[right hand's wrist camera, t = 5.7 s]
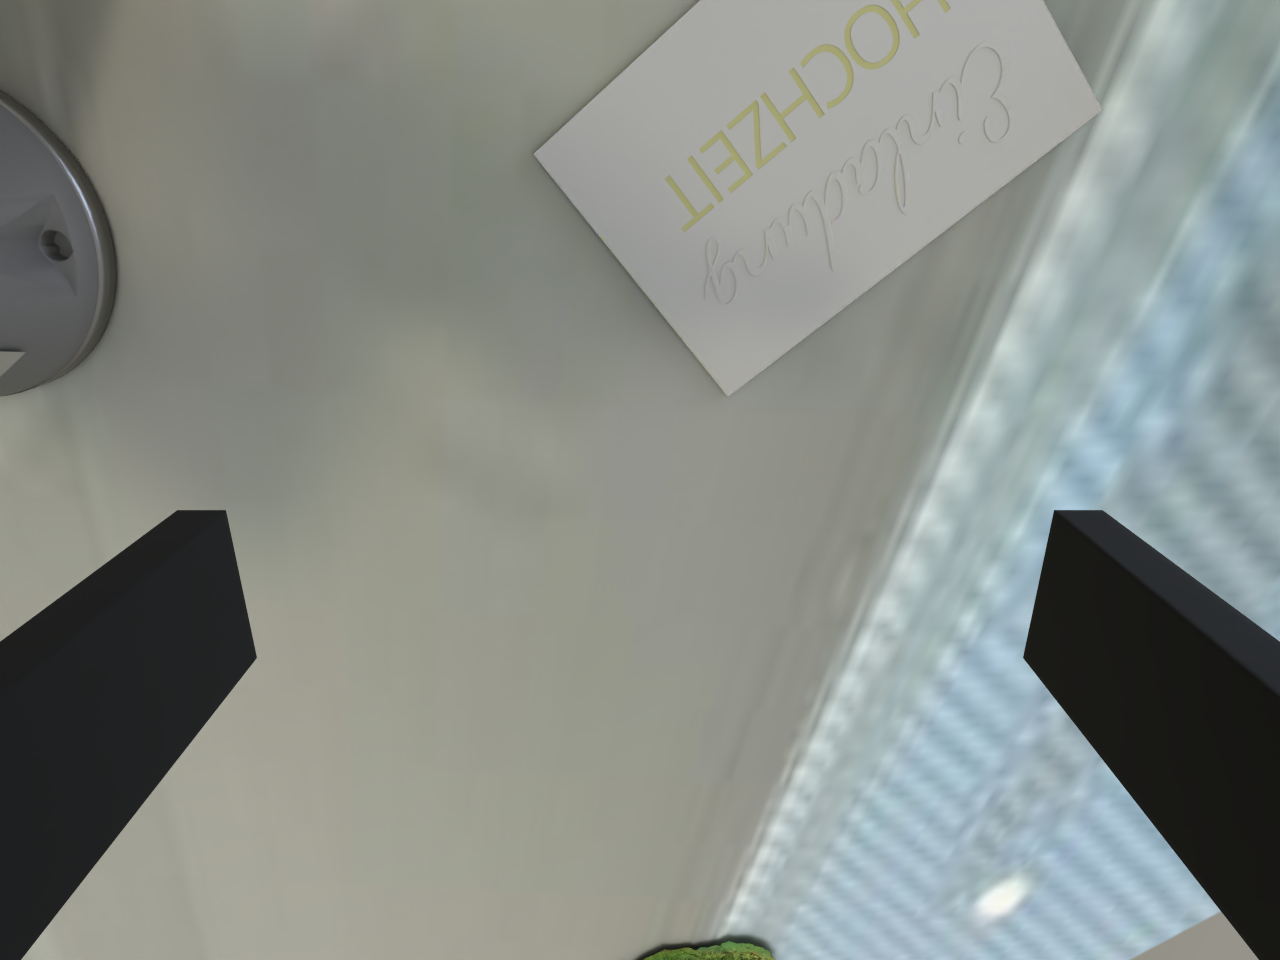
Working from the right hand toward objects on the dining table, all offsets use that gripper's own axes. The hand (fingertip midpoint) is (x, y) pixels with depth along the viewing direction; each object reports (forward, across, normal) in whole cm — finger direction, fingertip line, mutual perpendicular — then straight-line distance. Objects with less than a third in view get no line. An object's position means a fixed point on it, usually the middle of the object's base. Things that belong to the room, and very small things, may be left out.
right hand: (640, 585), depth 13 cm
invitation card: (+29, -8, -8) cm, 31 cm away
